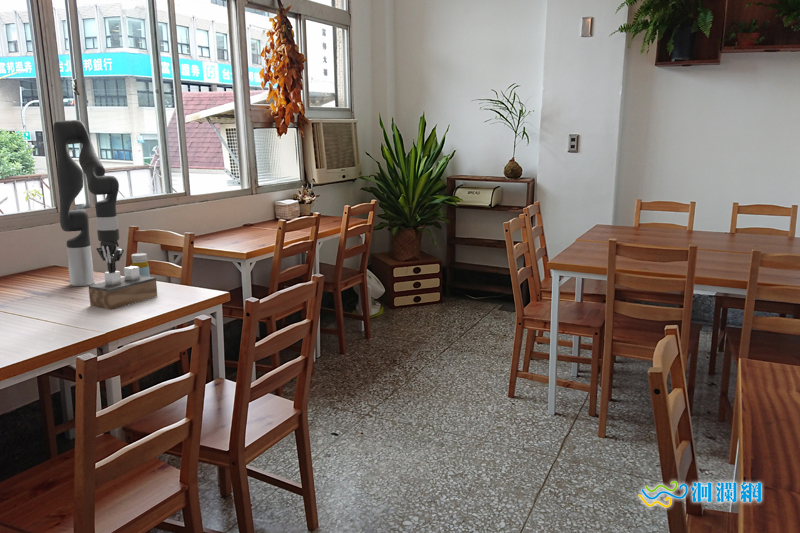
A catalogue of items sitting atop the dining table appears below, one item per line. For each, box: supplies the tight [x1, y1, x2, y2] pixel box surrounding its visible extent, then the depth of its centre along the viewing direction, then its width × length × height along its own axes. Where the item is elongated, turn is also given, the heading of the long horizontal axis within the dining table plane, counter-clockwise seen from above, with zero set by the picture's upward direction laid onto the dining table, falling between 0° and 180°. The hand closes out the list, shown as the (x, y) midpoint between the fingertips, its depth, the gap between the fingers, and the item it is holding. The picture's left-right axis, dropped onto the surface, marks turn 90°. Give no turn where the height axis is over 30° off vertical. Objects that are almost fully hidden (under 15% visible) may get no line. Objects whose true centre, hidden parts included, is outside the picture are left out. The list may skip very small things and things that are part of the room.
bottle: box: [130, 252, 151, 277], centre depth 259 cm, size 7×7×15 cm
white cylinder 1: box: [103, 270, 122, 286], centre depth 234 cm, size 4×4×7 cm
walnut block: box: [87, 275, 158, 311], centre depth 239 cm, size 12×22×8 cm, turn 154°
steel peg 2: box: [123, 265, 140, 281], centre depth 242 cm, size 4×4×7 cm
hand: (112, 271), depth 233 cm, fingers closed
